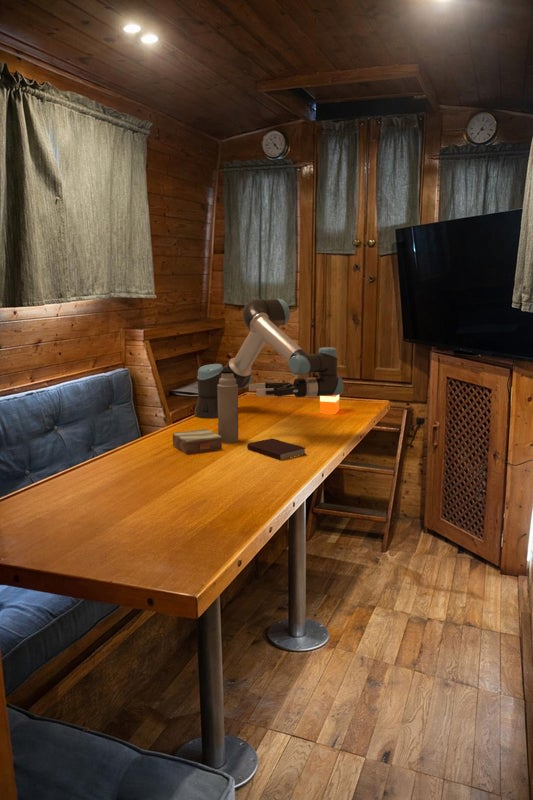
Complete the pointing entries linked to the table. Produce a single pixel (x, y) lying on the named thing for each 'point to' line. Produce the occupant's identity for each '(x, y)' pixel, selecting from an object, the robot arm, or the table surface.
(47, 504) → the table surface
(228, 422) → the thermos bottle
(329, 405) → the orange juice
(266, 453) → the book
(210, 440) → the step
